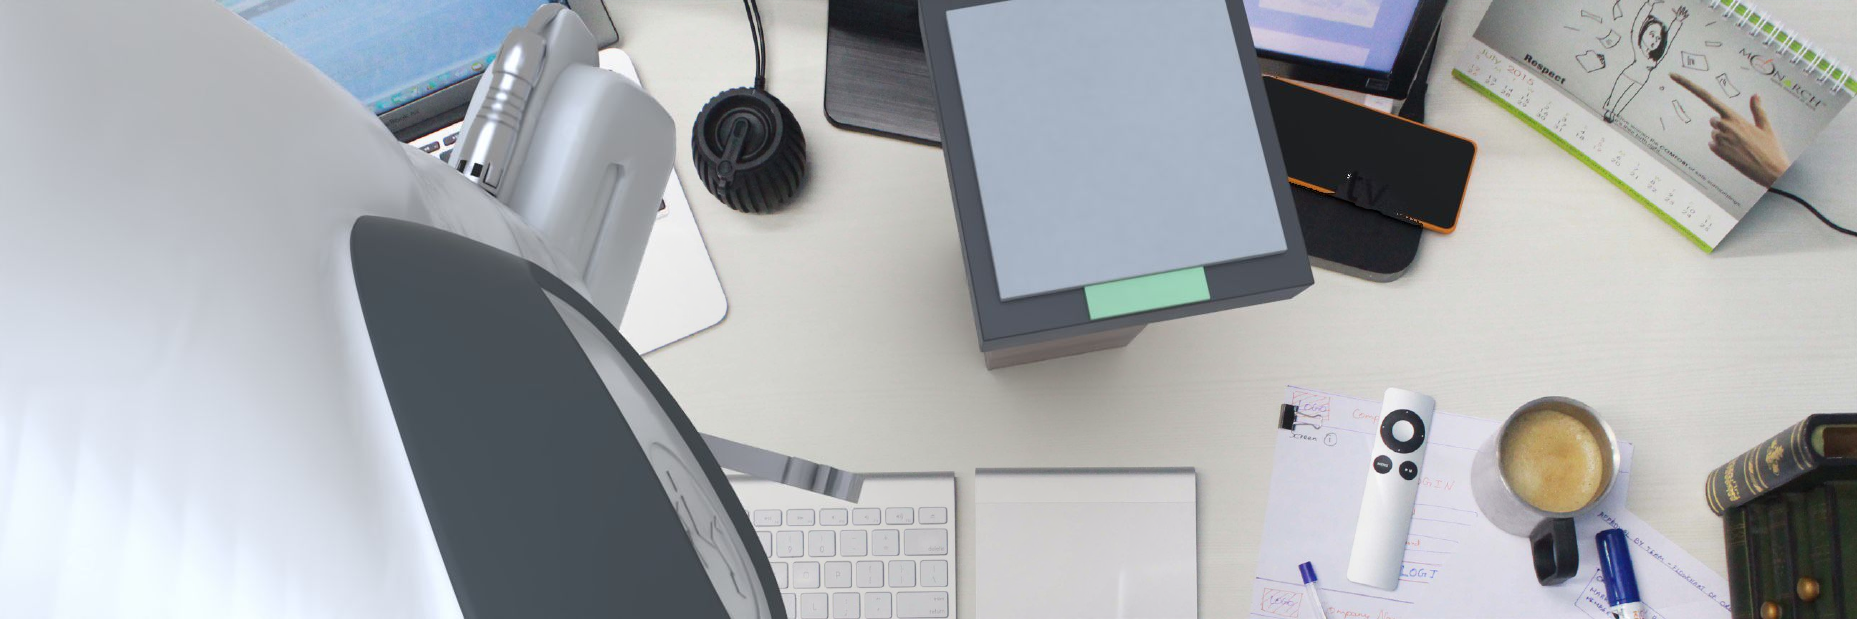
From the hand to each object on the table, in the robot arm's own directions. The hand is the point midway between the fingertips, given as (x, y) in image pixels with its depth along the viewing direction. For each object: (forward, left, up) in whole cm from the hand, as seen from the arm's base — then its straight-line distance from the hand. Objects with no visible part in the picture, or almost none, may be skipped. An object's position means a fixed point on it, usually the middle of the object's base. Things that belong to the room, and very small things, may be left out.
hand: (591, 418), depth 39 cm
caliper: (0, 0, -3) cm, 3 cm away
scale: (+9, -22, -7) cm, 25 cm away
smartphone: (+15, -46, -35) cm, 60 cm away
